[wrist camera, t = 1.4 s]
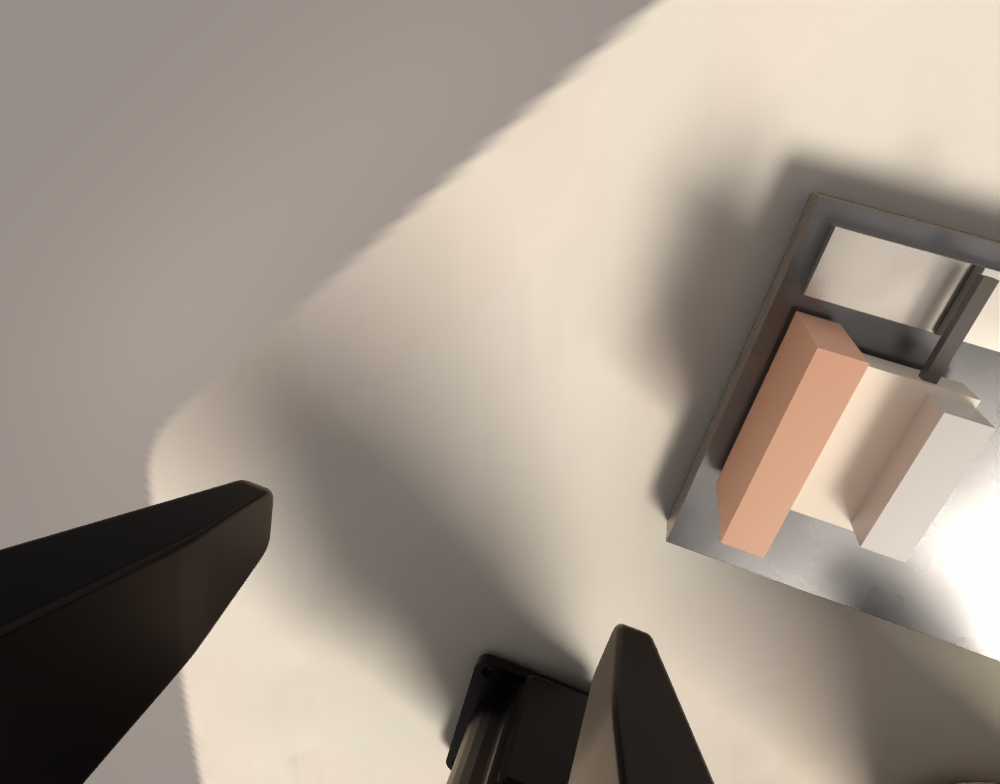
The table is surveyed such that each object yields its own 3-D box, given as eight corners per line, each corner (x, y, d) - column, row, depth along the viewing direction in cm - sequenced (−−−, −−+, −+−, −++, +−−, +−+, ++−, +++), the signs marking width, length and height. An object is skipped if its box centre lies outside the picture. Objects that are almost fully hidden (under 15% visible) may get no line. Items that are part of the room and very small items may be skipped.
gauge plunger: (867, 534, 16) (898, 605, 14) (716, 483, 17) (720, 542, 15) (1025, 284, 13) (1098, 319, 11) (833, 231, 14) (863, 254, 12)
